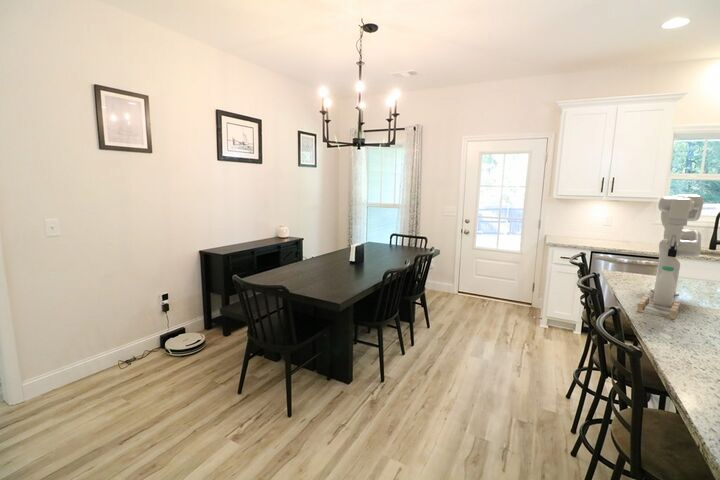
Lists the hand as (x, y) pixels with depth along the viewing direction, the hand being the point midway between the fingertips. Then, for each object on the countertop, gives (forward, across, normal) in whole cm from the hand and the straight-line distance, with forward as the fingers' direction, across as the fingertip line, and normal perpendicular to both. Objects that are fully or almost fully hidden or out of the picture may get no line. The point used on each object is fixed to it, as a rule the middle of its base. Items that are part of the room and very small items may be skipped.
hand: (671, 256), depth 184 cm
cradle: (+25, +22, 0) cm, 33 cm away
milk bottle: (+25, +8, 0) cm, 26 cm away
